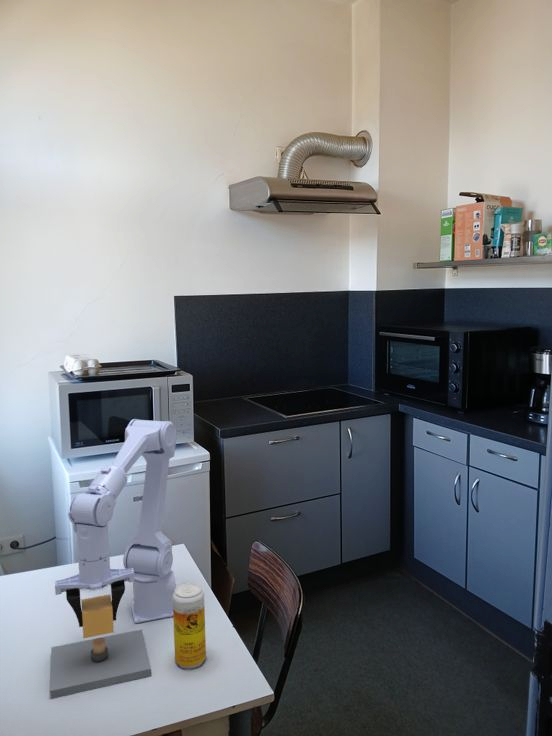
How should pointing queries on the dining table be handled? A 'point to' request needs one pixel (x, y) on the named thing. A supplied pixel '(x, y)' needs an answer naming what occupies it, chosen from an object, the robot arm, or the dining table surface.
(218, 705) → the dining table surface
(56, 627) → the dining table surface
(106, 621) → the orange cube
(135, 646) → the post board
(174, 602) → the beer can
